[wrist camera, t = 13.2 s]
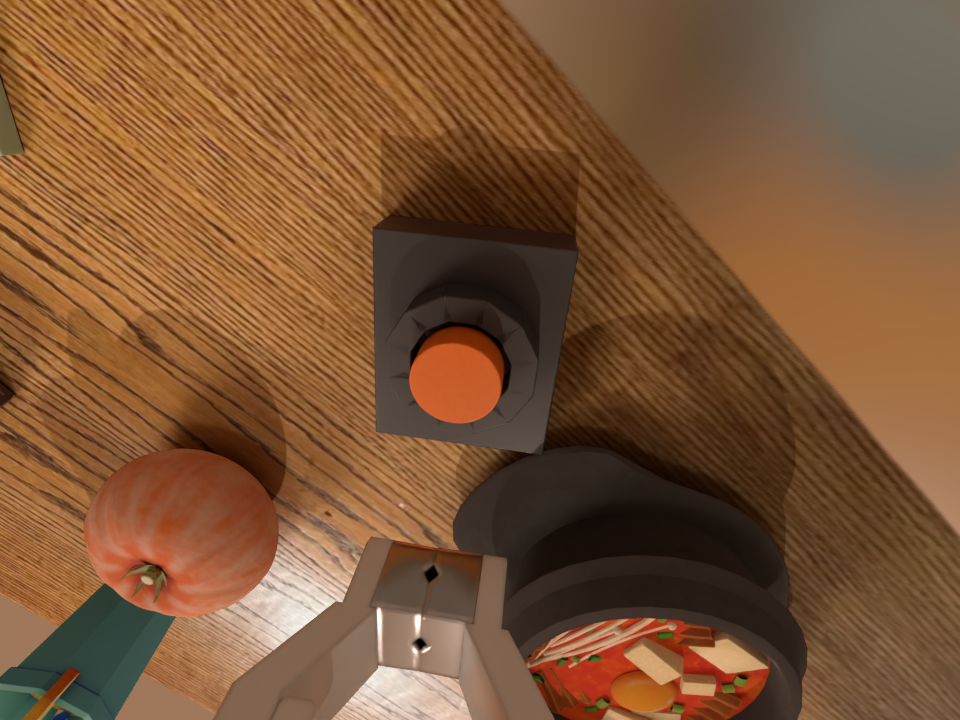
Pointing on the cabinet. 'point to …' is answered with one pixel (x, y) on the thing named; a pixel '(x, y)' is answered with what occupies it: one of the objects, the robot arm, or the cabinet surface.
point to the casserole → (637, 592)
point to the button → (457, 375)
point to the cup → (85, 662)
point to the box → (5, 395)
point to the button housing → (471, 320)
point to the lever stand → (8, 128)
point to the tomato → (181, 532)
